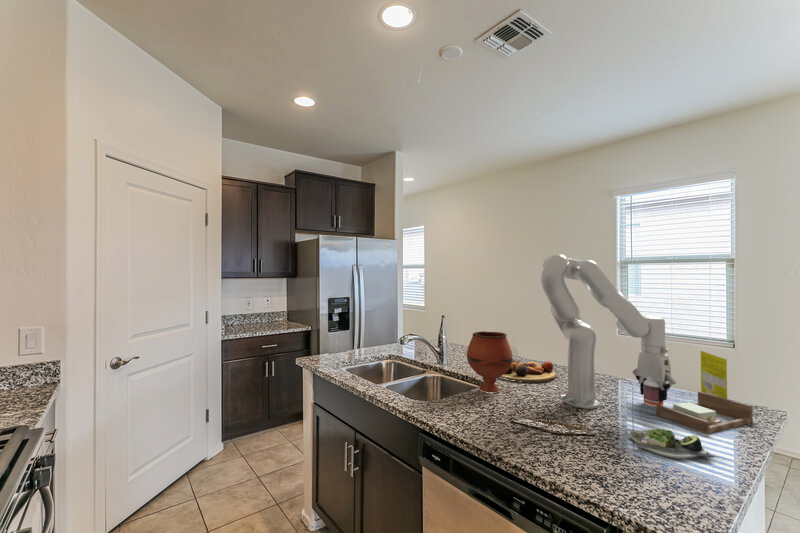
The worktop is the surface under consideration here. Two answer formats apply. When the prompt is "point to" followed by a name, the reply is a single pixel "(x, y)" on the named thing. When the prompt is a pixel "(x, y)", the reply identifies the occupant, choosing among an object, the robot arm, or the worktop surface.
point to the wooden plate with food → (530, 372)
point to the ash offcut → (702, 418)
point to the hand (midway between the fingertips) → (653, 396)
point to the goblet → (489, 357)
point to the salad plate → (669, 444)
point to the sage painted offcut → (694, 410)
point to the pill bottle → (651, 393)
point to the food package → (713, 375)
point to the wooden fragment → (565, 426)
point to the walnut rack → (716, 404)
